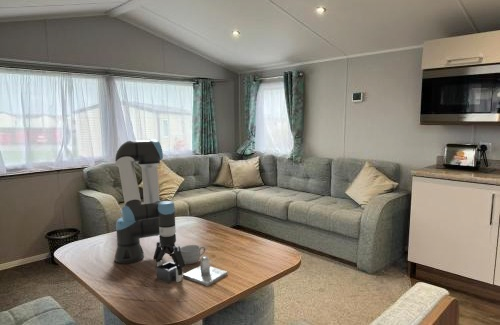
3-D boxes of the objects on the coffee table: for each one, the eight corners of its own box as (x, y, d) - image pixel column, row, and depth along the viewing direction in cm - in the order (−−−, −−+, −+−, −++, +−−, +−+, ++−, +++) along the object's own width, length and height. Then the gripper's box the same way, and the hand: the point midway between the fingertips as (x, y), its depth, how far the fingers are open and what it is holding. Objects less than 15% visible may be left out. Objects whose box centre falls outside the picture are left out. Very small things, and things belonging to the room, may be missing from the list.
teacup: (180, 267, 172) (180, 252, 171) (179, 259, 183) (178, 245, 182) (207, 264, 176) (207, 249, 175) (204, 256, 186) (204, 242, 185)
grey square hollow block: (156, 279, 160) (156, 267, 159) (170, 272, 167) (169, 260, 166) (168, 283, 155) (168, 271, 154) (182, 276, 162) (181, 264, 161)
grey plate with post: (183, 277, 161) (182, 258, 160) (203, 266, 173) (202, 249, 172) (207, 286, 152) (207, 266, 151) (227, 274, 163) (226, 255, 162)
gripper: (144, 231, 162) (146, 274, 165) (179, 241, 148) (181, 287, 151) (156, 227, 168) (158, 268, 171) (191, 236, 154) (193, 281, 157)
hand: (169, 277), depth 161 cm, fingers open, 12 cm apart
